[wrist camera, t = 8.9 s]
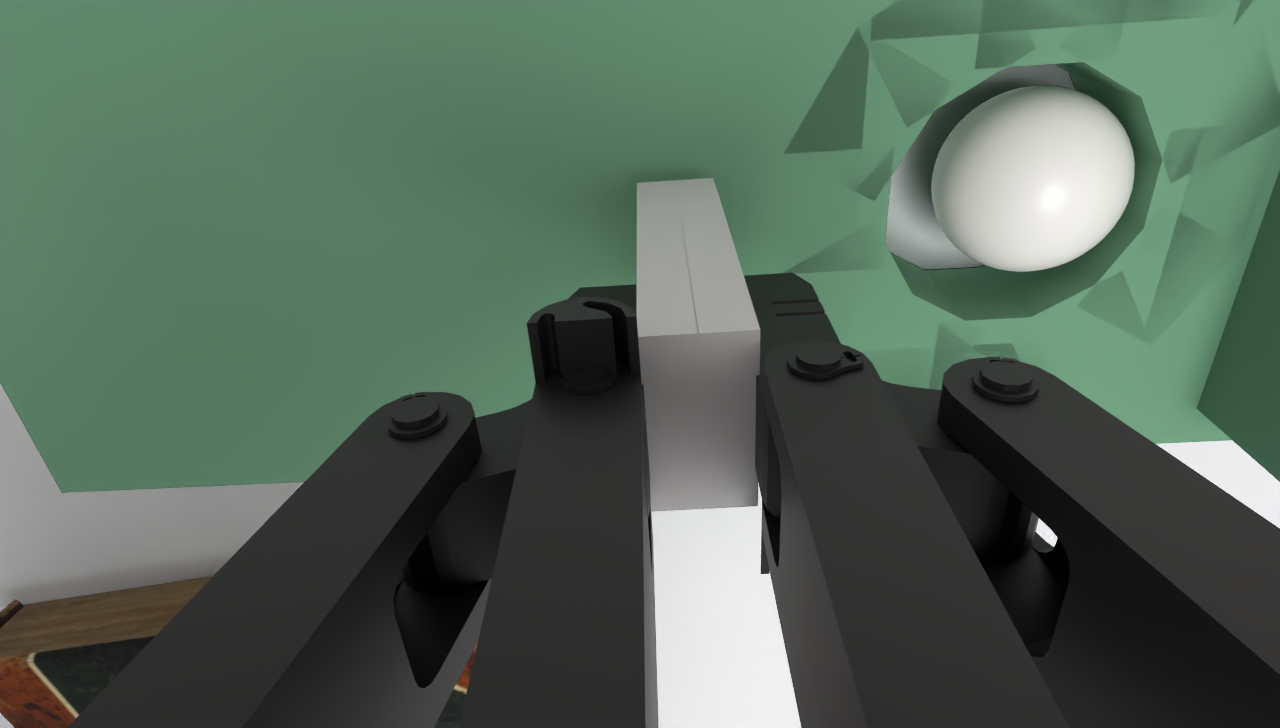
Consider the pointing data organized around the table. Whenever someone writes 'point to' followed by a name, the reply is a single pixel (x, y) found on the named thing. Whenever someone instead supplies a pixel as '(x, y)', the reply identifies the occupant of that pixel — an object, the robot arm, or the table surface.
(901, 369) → the green
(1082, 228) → the ball
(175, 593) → the book
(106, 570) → the table surface
